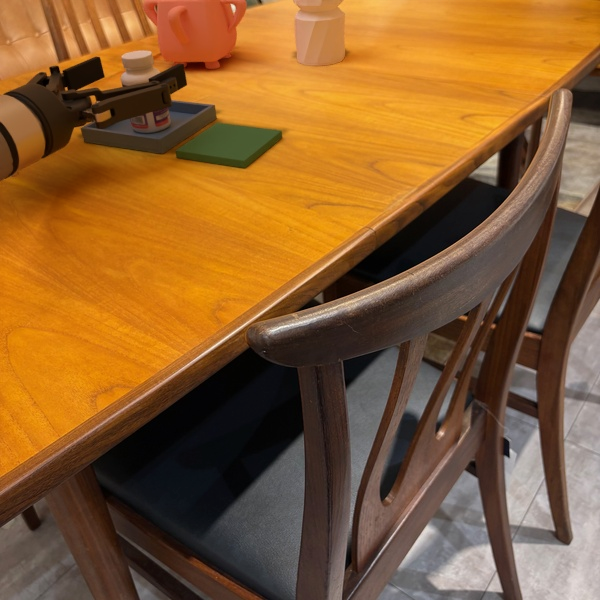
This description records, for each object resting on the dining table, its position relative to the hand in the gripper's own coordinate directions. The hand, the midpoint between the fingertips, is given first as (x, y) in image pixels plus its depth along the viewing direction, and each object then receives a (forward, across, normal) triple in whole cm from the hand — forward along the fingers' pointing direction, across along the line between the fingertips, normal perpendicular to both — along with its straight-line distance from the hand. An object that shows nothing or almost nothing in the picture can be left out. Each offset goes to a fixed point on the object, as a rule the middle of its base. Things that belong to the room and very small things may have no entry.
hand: (140, 70), depth 81 cm
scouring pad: (-3, +14, -8) cm, 17 cm away
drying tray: (0, 0, -8) cm, 8 cm away
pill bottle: (-1, 0, -8) cm, 8 cm away
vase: (+37, +10, -8) cm, 39 cm away
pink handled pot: (+32, -11, -8) cm, 35 cm away
